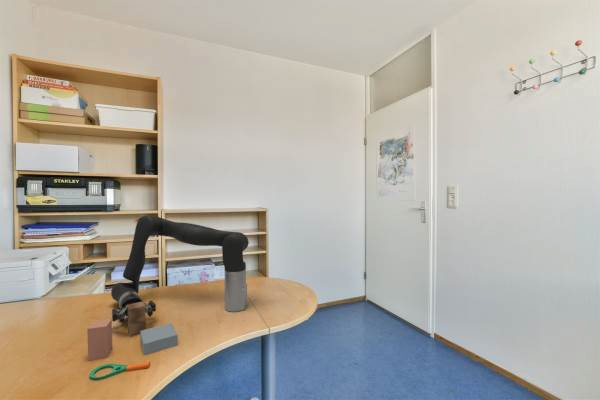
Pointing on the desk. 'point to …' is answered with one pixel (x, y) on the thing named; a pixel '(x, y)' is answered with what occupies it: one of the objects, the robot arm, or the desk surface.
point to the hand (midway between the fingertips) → (137, 317)
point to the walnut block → (136, 318)
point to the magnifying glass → (117, 369)
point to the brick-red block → (99, 339)
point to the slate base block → (158, 338)
